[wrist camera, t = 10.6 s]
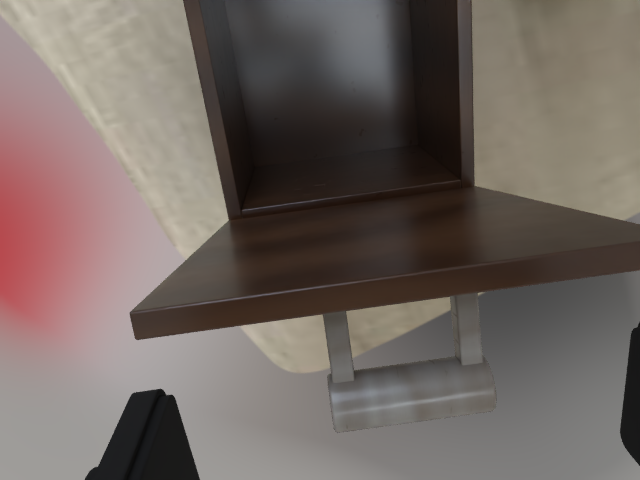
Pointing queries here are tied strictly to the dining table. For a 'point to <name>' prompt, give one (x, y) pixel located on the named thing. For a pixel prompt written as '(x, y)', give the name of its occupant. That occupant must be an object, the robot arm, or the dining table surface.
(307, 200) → the chest
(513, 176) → the dining table surface
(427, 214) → the lid
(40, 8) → the dining table surface
